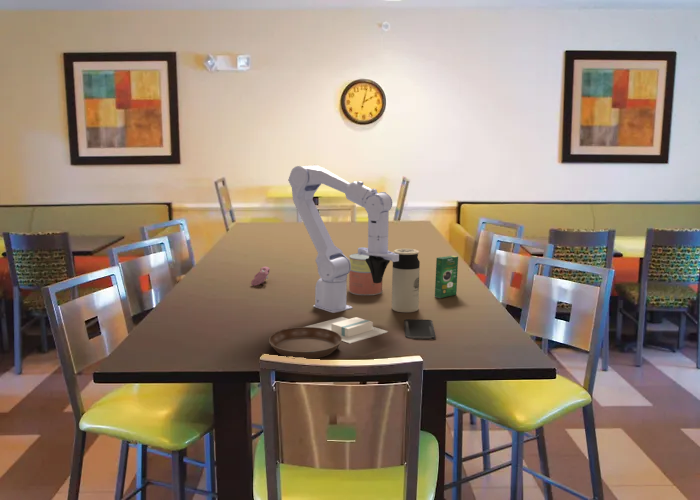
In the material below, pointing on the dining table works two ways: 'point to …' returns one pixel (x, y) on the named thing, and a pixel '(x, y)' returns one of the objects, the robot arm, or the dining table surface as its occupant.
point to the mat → (352, 338)
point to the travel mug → (405, 281)
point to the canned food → (362, 277)
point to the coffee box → (446, 276)
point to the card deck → (352, 326)
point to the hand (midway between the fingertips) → (377, 282)
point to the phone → (419, 329)
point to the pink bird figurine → (261, 276)
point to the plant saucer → (305, 342)
